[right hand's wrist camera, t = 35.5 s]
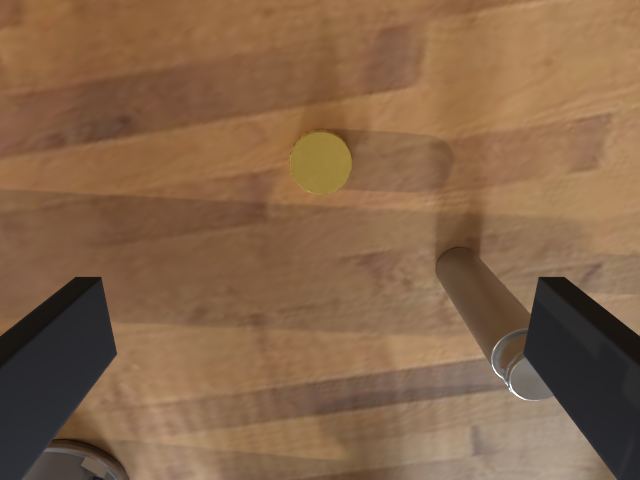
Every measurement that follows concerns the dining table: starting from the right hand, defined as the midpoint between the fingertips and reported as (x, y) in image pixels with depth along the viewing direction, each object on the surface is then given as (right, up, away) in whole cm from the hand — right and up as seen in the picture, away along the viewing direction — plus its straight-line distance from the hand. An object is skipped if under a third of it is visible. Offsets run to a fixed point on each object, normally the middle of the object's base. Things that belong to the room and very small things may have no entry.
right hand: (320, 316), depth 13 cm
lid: (0, +9, +24) cm, 26 cm away
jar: (+14, 0, +30) cm, 33 cm away
